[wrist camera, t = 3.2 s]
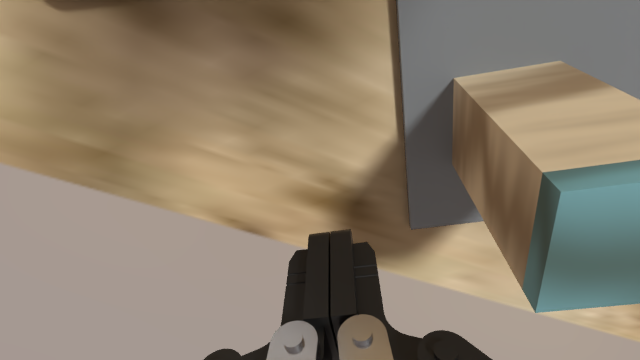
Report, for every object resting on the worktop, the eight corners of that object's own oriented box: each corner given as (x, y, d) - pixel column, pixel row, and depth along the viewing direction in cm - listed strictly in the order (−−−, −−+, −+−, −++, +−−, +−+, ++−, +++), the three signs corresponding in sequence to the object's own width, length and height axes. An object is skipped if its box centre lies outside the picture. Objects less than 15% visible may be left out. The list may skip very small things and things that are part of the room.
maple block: (453, 78, 18) (561, 192, 10) (560, 60, 18) (773, 165, 9) (452, 164, 21) (535, 312, 12) (544, 151, 20) (698, 298, 12)
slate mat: (395, -14, 16) (396, -13, 16) (945, -121, 14) (964, -123, 14) (409, 224, 24) (411, 229, 23) (771, 181, 21) (780, 186, 21)
